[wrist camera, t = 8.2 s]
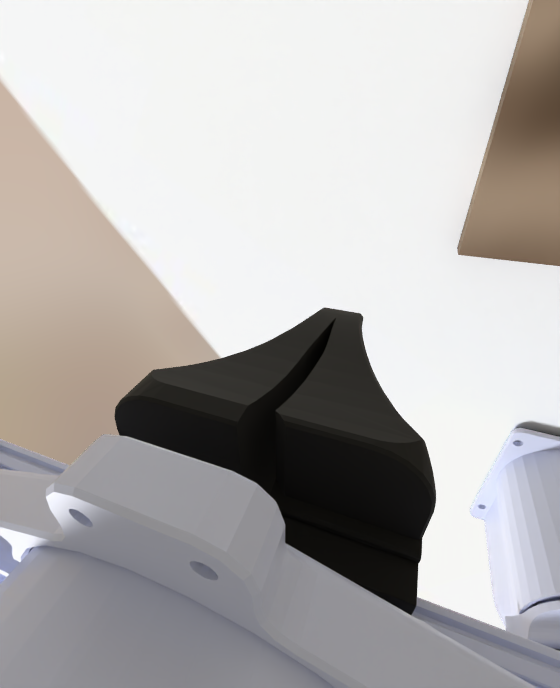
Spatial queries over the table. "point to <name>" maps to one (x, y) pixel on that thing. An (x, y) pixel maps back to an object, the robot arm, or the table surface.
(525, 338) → the table surface
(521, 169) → the base board
